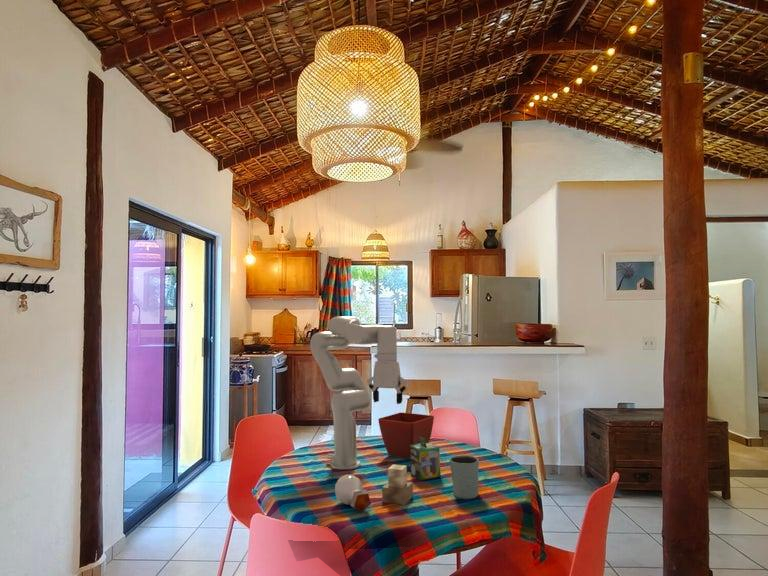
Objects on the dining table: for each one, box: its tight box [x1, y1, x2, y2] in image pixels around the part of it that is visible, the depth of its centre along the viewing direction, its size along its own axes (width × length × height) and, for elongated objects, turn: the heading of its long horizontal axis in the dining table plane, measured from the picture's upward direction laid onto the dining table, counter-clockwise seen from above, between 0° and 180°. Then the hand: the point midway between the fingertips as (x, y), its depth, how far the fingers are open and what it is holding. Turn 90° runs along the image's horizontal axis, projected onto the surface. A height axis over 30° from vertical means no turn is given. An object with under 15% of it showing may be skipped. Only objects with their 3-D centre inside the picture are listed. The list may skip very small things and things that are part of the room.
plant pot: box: [378, 412, 435, 460], centre depth 222 cm, size 19×19×17 cm
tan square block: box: [381, 481, 414, 506], centre depth 167 cm, size 8×8×5 cm
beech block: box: [387, 464, 408, 488], centre depth 167 cm, size 5×5×6 cm
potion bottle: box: [334, 474, 372, 513], centre depth 162 cm, size 9×10×15 cm
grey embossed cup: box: [449, 455, 480, 500], centre depth 170 cm, size 10×10×12 cm
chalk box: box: [409, 437, 442, 481], centre depth 192 cm, size 9×9×15 cm
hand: (387, 402), depth 186 cm, fingers open, 9 cm apart
